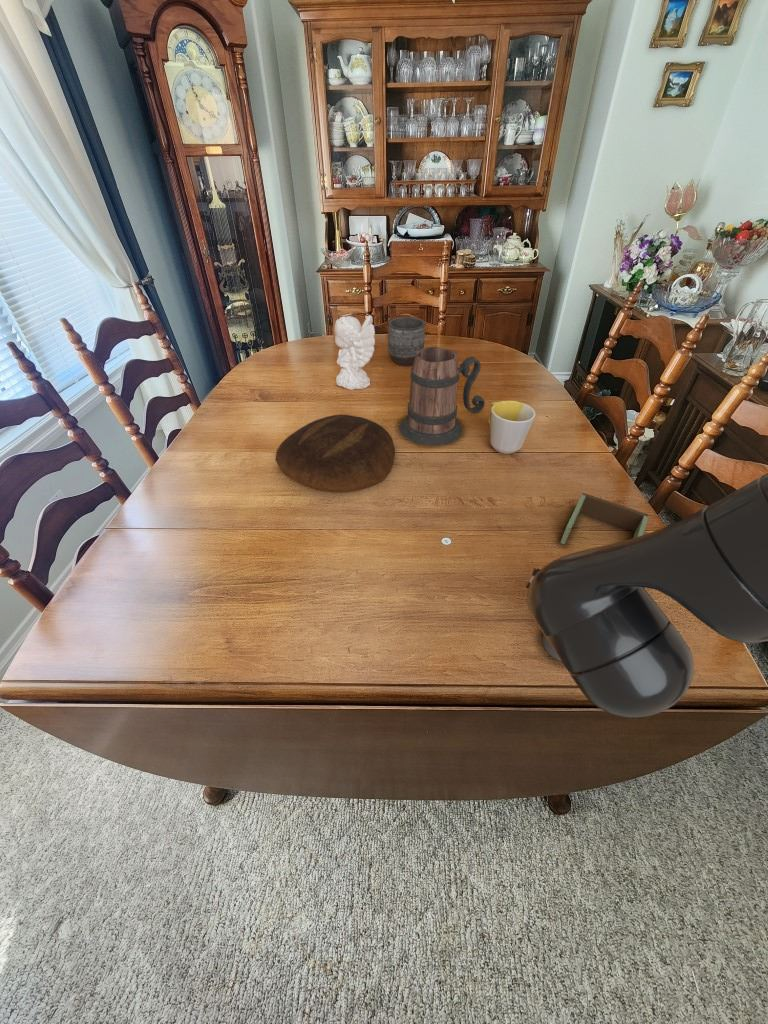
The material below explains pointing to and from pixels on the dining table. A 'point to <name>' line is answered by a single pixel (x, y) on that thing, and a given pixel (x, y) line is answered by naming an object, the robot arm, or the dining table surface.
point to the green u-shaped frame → (608, 515)
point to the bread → (337, 454)
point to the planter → (405, 339)
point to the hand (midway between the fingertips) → (584, 598)
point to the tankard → (438, 396)
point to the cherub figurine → (354, 351)
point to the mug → (509, 425)
